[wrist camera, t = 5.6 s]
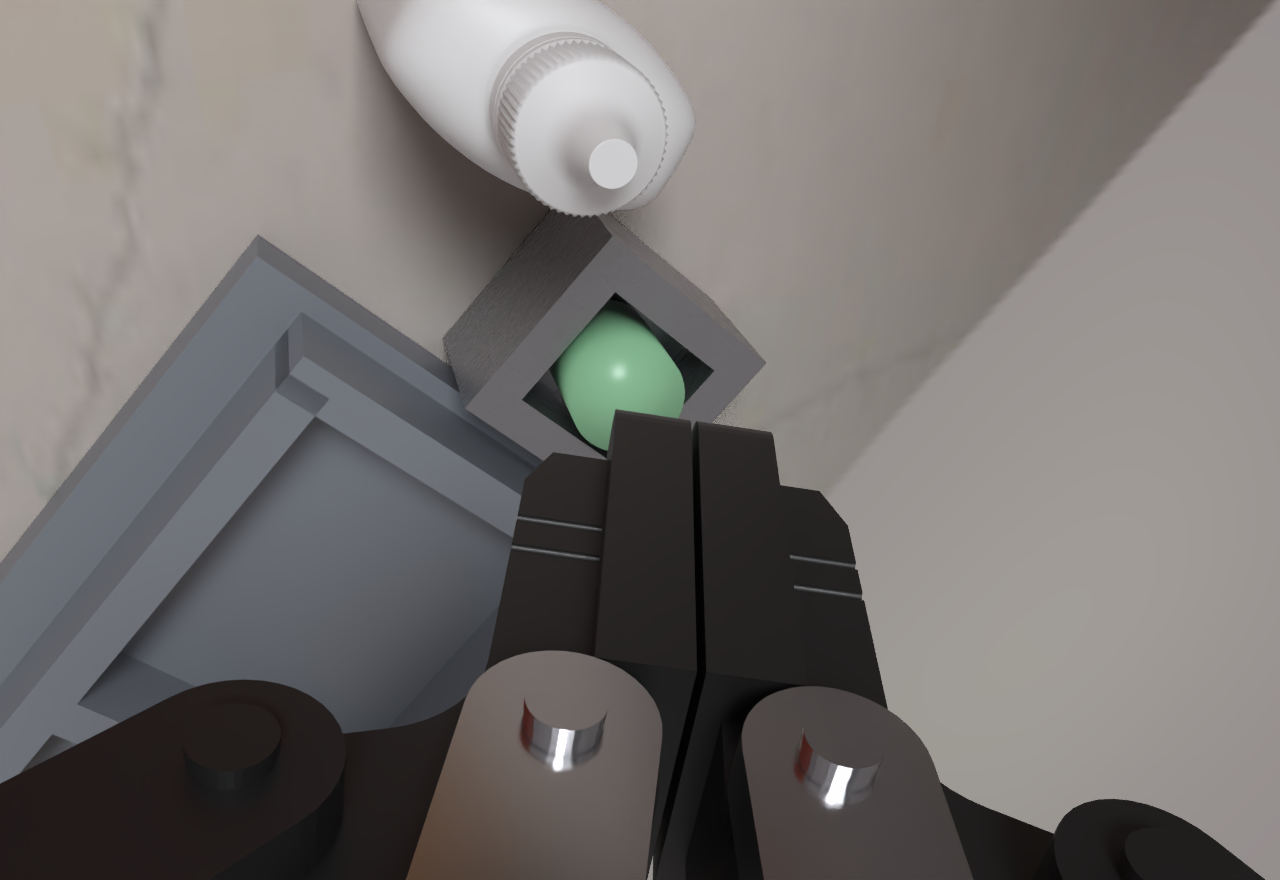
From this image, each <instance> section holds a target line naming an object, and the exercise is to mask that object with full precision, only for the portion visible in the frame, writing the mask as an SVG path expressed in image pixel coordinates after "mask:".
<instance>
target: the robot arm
mask: <svg viewBox="0 0 1280 880" xmlns="http://www.w3.org/2000/svg"><path fill="white" fill-rule="evenodd" d="M855 564H856V561H855V556H854V552H853V547H852V543H851V538H850V533H849V529H848V525H847V524H846V523H845V522H844V521H843V519H842V518H841V517H840V516H839V514H838V513H837V512H836V511H835V510H834V508H833V507H832V506H831V505H830V503H829V502H828V501H827V500H826V499H825V497H824V496H823V495H822V494H821V493H820V491H815V490H808V489H801V488H795V487H788V486H781V485H780V482H779V474H778V467H777V460H776V453H775V446H774V439H773V435H772V433H771V432H766V431H760V430H753V429H746V428H740V427H733V426H726V425H720V424H713V423H707V422H700V421H696V422H695V424H694V427H693V430H692V428H691V421H690V420H685V419H678V418H672V417H665V416H658V415H652V414H645V413H638V412H632V411H625V410H618V409H616V410H615V413H614V418H613V423H612V429H611V434H610V440H609V446H608V452H607V458H606V460H603V459H597V458H590V457H583V456H576V455H570V454H563V453H556V452H553V453H552V454H551V455H550V456H549V457H547V458H546V459H545V460H544V461H543V462H542V463H541V464H540V465H539V466H538V467H537V468H536V469H535V470H534V471H533V472H532V473H531V474H529V475H528V476H527V477H526V478H525V480H524V485H523V490H522V495H521V500H520V505H519V510H518V516H517V521H516V525H515V530H514V535H513V540H512V546H511V550H510V555H509V560H508V565H507V570H506V575H505V579H504V584H503V589H502V594H501V599H500V604H499V609H498V614H497V619H496V624H495V629H494V634H493V639H492V644H491V649H490V654H489V659H488V662H487V665H486V669H485V672H484V673H483V674H482V675H481V676H480V677H479V678H478V679H477V680H476V682H475V683H474V684H473V685H472V687H471V688H470V690H469V693H468V695H467V696H466V697H464V698H463V699H462V700H461V701H460V702H458V703H457V704H456V705H454V706H452V707H451V708H449V709H447V710H446V711H444V712H442V713H440V714H438V715H435V716H433V717H431V718H429V719H426V720H423V721H419V722H416V723H413V724H409V725H404V726H399V727H393V728H386V729H378V730H369V731H361V732H352V733H344V734H343V733H342V730H341V727H340V725H339V724H338V722H337V720H336V719H335V717H334V716H333V714H332V713H331V712H330V711H329V710H328V709H327V708H326V707H325V706H324V705H323V704H322V703H320V702H319V701H317V700H316V699H314V698H313V697H312V696H310V695H308V694H306V693H304V692H302V691H300V690H298V689H296V688H292V687H289V686H286V685H283V684H280V683H274V682H268V681H263V680H245V679H242V680H227V681H220V682H214V683H209V684H204V685H201V686H197V687H194V688H191V689H187V690H185V691H183V692H180V693H178V694H176V695H174V696H171V697H169V698H167V699H165V700H163V701H161V702H159V703H157V704H155V705H153V706H151V707H149V708H148V709H146V710H144V711H142V712H140V713H138V714H136V715H134V716H132V717H130V718H128V719H126V720H124V721H122V722H120V723H118V724H116V725H114V726H112V727H110V728H108V729H106V730H104V731H102V732H100V733H98V734H96V735H95V736H93V737H91V738H89V739H87V740H85V741H83V742H81V743H79V744H77V745H75V746H73V747H71V748H69V749H67V750H65V751H63V752H61V753H59V754H57V755H55V756H53V757H51V758H49V759H47V760H45V761H43V762H42V763H40V764H38V765H36V766H34V767H32V768H30V769H28V770H26V771H24V772H22V773H20V774H18V775H16V776H14V777H12V778H10V779H8V780H6V781H4V782H2V783H0V880H647V878H648V873H649V869H650V865H651V861H652V857H653V880H1265V879H1264V878H1262V877H1261V876H1260V875H1259V874H1257V873H1256V872H1255V871H1253V870H1252V869H1251V868H1250V867H1248V866H1247V865H1246V864H1245V863H1243V862H1242V861H1241V860H1240V859H1238V858H1237V857H1236V856H1234V855H1233V854H1232V853H1231V852H1229V851H1228V850H1227V849H1226V848H1224V847H1223V846H1222V845H1220V844H1219V843H1218V842H1217V841H1215V840H1214V839H1213V838H1211V837H1210V836H1209V835H1207V834H1206V833H1204V832H1203V831H1201V830H1200V829H1198V828H1197V827H1195V826H1193V825H1192V824H1190V823H1188V822H1187V821H1185V820H1183V819H1182V818H1179V817H1177V816H1175V815H1173V814H1171V813H1169V812H1166V811H1164V810H1161V809H1159V808H1156V807H1153V806H1150V805H1147V804H1142V803H1138V802H1134V801H1129V800H1119V799H1104V800H1095V801H1091V802H1086V803H1083V804H1081V805H1079V806H1077V807H1075V808H1073V809H1072V810H1071V811H1070V812H1069V813H1067V814H1066V815H1065V816H1064V818H1063V819H1062V821H1061V822H1060V823H1059V825H1058V827H1057V829H1056V831H1055V833H1054V834H1053V833H1050V832H1048V831H1045V830H1042V829H1040V828H1037V827H1035V826H1032V825H1030V824H1027V823H1025V822H1022V821H1020V820H1017V819H1015V818H1012V817H1009V816H1007V815H1004V814H1002V813H999V812H997V811H994V810H991V809H989V808H986V807H984V806H981V805H980V804H977V803H975V802H973V801H971V800H968V799H966V798H965V797H963V796H961V795H959V794H958V793H956V792H954V791H952V790H950V789H949V788H948V787H946V786H944V785H943V784H942V783H940V781H939V778H938V775H937V772H936V769H935V766H934V763H933V761H932V759H931V756H930V754H929V752H928V750H927V748H926V747H925V745H924V744H923V742H922V741H921V739H920V738H919V737H918V736H917V735H916V733H915V732H914V731H913V730H912V729H911V728H910V727H909V726H908V725H907V724H906V723H905V722H903V721H902V720H901V719H900V718H899V717H898V716H896V715H895V714H893V713H892V712H890V711H889V710H888V709H887V704H886V699H885V695H884V690H883V685H882V681H881V676H880V671H879V667H878V662H877V658H876V653H875V648H874V644H873V639H872V635H871V631H870V625H869V621H868V616H867V612H866V607H865V602H864V601H863V600H862V589H861V584H860V579H859V575H858V570H855Z"/></svg>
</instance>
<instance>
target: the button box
mask: <svg viewBox="0 0 1280 880" xmlns="http://www.w3.org/2000/svg"><path fill="white" fill-rule="evenodd" d="M608 300H613V301H618V302H621V303H624V304H626V305H628V306H630V307H631V308H633V309H634V310H636V311H637V312H638V313H639V314H640V315H641V317H642V318H643V319H644V320H645V322H646V323H647V325H648V326H649V328H650V329H651V330H652V332H653V333H654V335H655V336H656V338H657V339H658V340H659V342H660V343H661V345H662V346H663V348H664V349H665V350H666V352H667V353H668V355H669V356H670V358H671V359H672V360H673V362H674V363H675V365H676V366H677V368H678V369H679V371H680V373H681V375H682V378H683V382H684V387H685V399H684V404H683V408H682V411H681V413H680V415H679V418H678V419H685V420H690V421H691V428H692V430H693V427H694V424H695V422H696V421H700V422H707V423H712V422H713V421H714V420H715V419H716V417H717V416H718V415H719V414H720V413H721V412H722V411H723V410H724V409H725V408H726V407H727V405H728V404H729V403H730V402H731V401H732V400H733V399H734V398H735V397H736V396H737V395H738V393H739V392H740V391H741V390H742V389H743V388H744V387H745V386H746V385H747V384H748V383H749V381H750V380H751V379H752V378H753V377H754V376H755V375H756V374H757V373H758V372H759V370H760V369H761V368H762V367H763V366H764V365H765V364H766V362H765V361H764V359H763V358H762V357H761V356H760V355H759V354H758V353H757V351H756V350H755V349H754V348H753V347H752V346H751V344H750V343H749V342H748V341H747V340H746V339H745V337H744V336H743V335H742V334H741V333H740V332H739V330H738V329H737V328H736V327H735V326H734V325H733V324H732V322H731V321H730V320H729V319H728V318H727V317H726V315H725V314H724V313H723V312H722V311H721V310H720V308H719V307H718V306H717V305H716V304H715V303H714V301H713V300H711V299H710V298H709V297H708V296H707V295H705V294H704V293H703V292H702V291H701V290H699V289H698V288H697V287H696V286H695V285H693V284H692V283H691V282H690V281H689V280H687V279H686V278H685V277H684V276H683V275H681V274H680V273H679V272H678V271H677V270H675V269H674V268H673V267H672V266H671V265H669V264H668V263H667V262H666V261H665V260H663V259H662V258H661V257H660V256H659V255H657V254H656V253H655V252H654V251H653V250H651V249H650V248H649V247H648V246H647V245H645V244H644V243H643V242H642V241H641V240H639V239H638V238H637V237H636V236H635V235H633V234H632V233H631V232H630V231H629V230H627V229H626V228H625V227H624V226H623V225H621V224H620V223H619V222H618V221H617V220H615V219H614V218H613V217H612V216H611V215H609V214H608V213H607V214H606V215H605V214H603V213H602V214H601V215H599V216H596V215H593V216H592V217H589V216H588V215H586V216H584V217H581V216H580V215H577V216H575V217H573V215H572V214H568V215H565V213H564V212H560V213H558V212H557V210H556V209H552V210H550V211H549V213H548V214H547V215H546V216H545V217H544V219H543V220H542V221H541V222H540V223H539V225H538V226H537V227H536V228H535V229H534V231H533V232H532V233H531V234H530V235H529V236H528V238H527V239H526V240H525V241H524V242H523V244H522V245H521V246H520V247H519V248H518V250H517V251H516V252H515V253H514V254H513V256H512V257H511V258H510V259H509V260H508V261H507V263H506V264H505V265H504V266H503V267H502V269H501V270H500V271H499V272H498V273H497V275H496V276H495V277H494V278H493V279H492V281H491V282H490V283H489V284H488V285H487V286H486V288H485V289H484V290H483V291H482V292H481V294H480V295H479V296H478V297H477V298H476V300H475V301H474V302H473V303H472V304H471V305H470V307H469V308H468V309H467V310H466V311H465V313H464V314H463V315H462V316H461V317H460V319H459V320H458V321H457V322H456V323H455V325H454V326H453V327H452V328H451V329H450V330H449V332H448V333H447V334H446V335H445V336H444V338H443V340H444V343H445V346H446V349H447V352H448V356H449V359H450V362H451V365H452V368H453V372H454V375H455V378H456V381H457V385H458V388H459V391H460V394H461V397H462V401H463V404H464V407H465V409H467V410H468V411H470V412H471V413H473V414H474V415H476V416H477V417H478V418H480V419H481V420H483V421H484V422H486V423H487V424H489V425H490V426H492V427H493V428H495V429H496V430H498V431H499V432H501V433H502V434H504V435H505V436H507V437H508V438H510V439H511V440H513V441H514V442H516V443H517V444H519V445H520V446H522V447H523V448H525V449H526V450H528V451H529V452H531V453H532V454H534V455H535V456H537V457H538V458H540V459H541V460H543V461H544V460H545V459H546V458H547V457H549V456H550V455H551V454H552V453H553V452H556V453H563V454H570V455H576V456H583V457H590V458H597V459H603V460H606V458H607V452H608V450H604V449H601V448H599V447H596V446H595V445H593V444H591V443H590V442H589V441H587V440H586V439H585V438H584V437H583V436H582V435H581V433H580V432H579V430H578V429H577V427H576V425H575V423H574V421H573V419H572V416H571V414H570V412H569V410H568V408H567V406H566V404H565V402H564V400H563V398H562V395H561V393H560V391H559V389H558V387H557V385H556V383H555V381H554V379H553V377H552V375H551V372H550V370H549V368H550V367H551V366H552V364H553V363H554V362H555V361H556V360H557V359H558V357H559V356H560V355H561V354H562V353H563V352H564V351H565V349H566V348H567V347H568V346H569V345H570V344H571V343H572V341H573V340H574V339H575V338H576V337H577V336H578V334H579V333H580V332H581V331H582V330H583V329H584V328H585V326H586V325H587V324H588V323H589V322H590V321H591V319H592V318H593V317H594V316H595V315H596V314H597V313H598V311H599V310H600V309H601V308H602V307H603V306H604V305H605V303H606V302H607V301H608Z"/></svg>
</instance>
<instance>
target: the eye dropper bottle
mask: <svg viewBox="0 0 1280 880" xmlns="http://www.w3.org/2000/svg"><path fill="white" fill-rule="evenodd" d="M356 1H357V4H358V7H359V10H360V13H361V16H362V18H363V21H364V23H365V26H366V28H367V31H368V34H369V36H370V39H371V41H372V43H373V46H374V48H375V51H376V53H377V55H378V58H379V60H380V62H381V64H382V66H383V67H384V69H385V71H386V72H387V74H388V75H389V77H390V78H391V80H392V81H393V83H394V84H395V86H396V87H397V88H398V90H399V91H400V92H401V93H402V95H403V96H404V97H405V98H406V100H407V101H408V102H409V103H410V104H411V105H412V107H413V108H414V109H415V110H416V111H417V112H418V113H419V115H420V116H421V117H422V118H423V119H424V120H425V121H426V122H427V123H428V124H429V125H430V126H431V127H432V128H433V129H434V130H435V131H436V132H437V133H438V134H439V135H440V136H441V137H442V138H443V139H445V140H446V141H447V142H448V143H449V144H450V145H451V146H453V147H454V148H455V149H456V150H458V151H459V152H460V153H462V154H463V155H464V156H465V157H467V158H468V159H469V160H471V161H472V162H474V163H475V164H477V165H478V166H480V167H481V168H483V169H484V170H486V171H487V172H489V173H491V174H492V175H494V176H496V177H498V178H499V179H501V180H503V181H505V182H507V183H509V184H511V185H513V186H515V187H517V188H520V189H522V190H524V191H527V192H529V193H530V194H531V195H533V196H534V197H535V198H536V200H537V201H541V202H542V204H543V205H544V206H546V205H548V206H549V208H550V209H551V210H552V209H556V210H557V212H558V213H560V212H564V213H565V215H568V214H572V215H573V217H575V216H577V215H580V216H581V217H584V216H586V215H588V216H589V217H592V216H593V215H596V216H599V215H601V214H602V213H603V214H605V215H606V214H607V213H608V212H610V211H611V212H614V211H615V210H631V209H635V208H639V207H642V206H645V205H647V204H648V203H649V202H651V201H652V200H653V199H654V198H655V197H656V196H658V194H659V193H660V191H661V190H662V189H663V187H664V186H665V184H666V183H667V182H668V180H669V178H670V177H671V175H672V174H673V172H674V171H675V169H676V167H677V166H678V164H679V162H680V161H681V159H682V157H683V155H684V154H685V152H686V150H687V148H688V146H689V144H690V142H691V140H692V137H693V133H694V129H695V125H696V120H695V115H694V110H693V106H692V104H691V102H690V100H689V98H688V96H687V94H686V92H685V90H684V89H683V87H682V85H681V84H680V82H679V81H678V79H677V77H676V76H675V75H674V73H673V72H672V70H671V69H670V68H669V66H668V65H667V63H666V62H665V61H664V60H663V59H662V57H661V56H660V55H659V54H658V52H657V51H656V50H655V49H654V48H653V47H652V46H651V45H650V44H649V43H648V41H647V40H646V39H645V38H644V37H643V36H642V35H641V34H640V33H639V32H637V31H636V30H635V29H634V28H633V27H632V26H631V25H630V24H629V23H628V22H626V21H625V20H624V19H623V18H621V17H620V16H619V15H618V14H616V13H615V12H614V11H613V10H611V9H610V8H609V7H607V6H606V5H605V4H603V3H602V2H600V1H599V0H356Z"/></svg>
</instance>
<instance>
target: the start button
mask: <svg viewBox="0 0 1280 880" xmlns="http://www.w3.org/2000/svg"><path fill="white" fill-rule="evenodd" d="M549 370H550V372H551V375H552V377H553V379H554V381H555V383H556V385H557V387H558V389H559V391H560V393H561V395H562V398H563V400H564V402H565V404H566V406H567V408H568V410H569V412H570V414H571V416H572V419H573V421H574V423H575V425H576V427H577V429H578V430H579V432H580V433H581V435H582V436H583V437H584V438H585V439H586V440H587V441H589V442H590V443H591V444H593V445H595V446H596V447H599V448H601V449H604V450H608V446H609V440H610V434H611V429H612V423H613V418H614V413H615V410H616V409H618V410H625V411H632V412H638V413H645V414H652V415H658V416H665V417H672V418H679V415H680V413H681V411H682V408H683V404H684V399H685V387H684V382H683V378H682V375H681V373H680V371H679V369H678V368H677V366H676V365H675V363H674V362H673V360H672V359H671V358H670V356H669V355H668V353H667V352H666V350H665V349H664V348H663V346H662V345H661V343H660V342H659V340H658V339H657V338H656V336H655V335H654V333H653V332H652V330H651V329H650V328H649V326H648V325H647V323H646V322H645V320H644V319H643V318H642V317H641V315H640V314H639V313H638V312H637V311H636V310H634V309H633V308H631V307H630V306H628V305H626V304H624V303H621V302H618V301H613V300H608V301H607V302H606V303H605V305H604V306H603V307H602V308H601V309H600V310H599V311H598V313H597V314H596V315H595V316H594V317H593V318H592V319H591V321H590V322H589V323H588V324H587V325H586V326H585V328H584V329H583V330H582V331H581V332H580V333H579V334H578V336H577V337H576V338H575V339H574V340H573V341H572V343H571V344H570V345H569V346H568V347H567V348H566V349H565V351H564V352H563V353H562V354H561V355H560V356H559V357H558V359H557V360H556V361H555V362H554V363H553V364H552V366H551V367H550V368H549Z"/></svg>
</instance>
